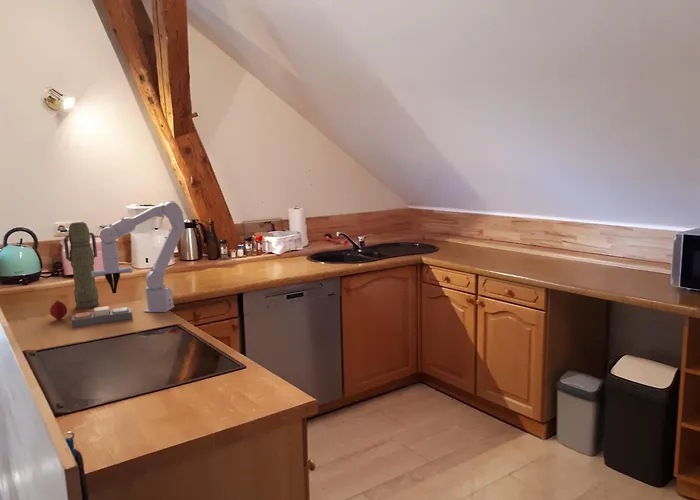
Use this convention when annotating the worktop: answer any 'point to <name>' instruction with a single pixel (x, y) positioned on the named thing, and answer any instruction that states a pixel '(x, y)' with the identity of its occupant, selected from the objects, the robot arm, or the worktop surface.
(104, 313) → the cream key
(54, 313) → the onion
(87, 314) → the terracotta key
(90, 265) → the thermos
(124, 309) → the light gray key
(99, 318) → the key panel
